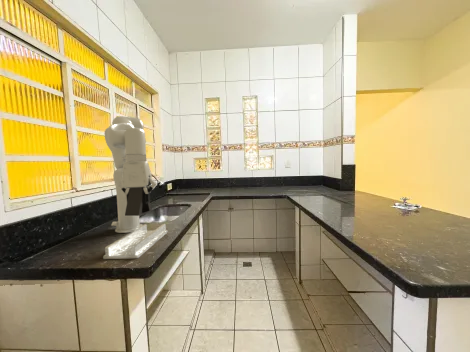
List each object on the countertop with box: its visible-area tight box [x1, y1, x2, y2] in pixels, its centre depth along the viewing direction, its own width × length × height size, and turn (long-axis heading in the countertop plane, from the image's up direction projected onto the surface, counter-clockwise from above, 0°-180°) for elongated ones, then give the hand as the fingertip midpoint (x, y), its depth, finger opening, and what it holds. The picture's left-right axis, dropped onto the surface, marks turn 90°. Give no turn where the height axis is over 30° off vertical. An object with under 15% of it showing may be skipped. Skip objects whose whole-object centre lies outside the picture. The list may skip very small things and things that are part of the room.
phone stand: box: [125, 187, 153, 217], centre depth 82 cm, size 9×6×12 cm, turn 170°
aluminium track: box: [103, 223, 169, 260], centre depth 83 cm, size 12×28×4 cm, turn 178°
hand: (138, 203), depth 82 cm, fingers closed on phone stand, 6 cm apart
